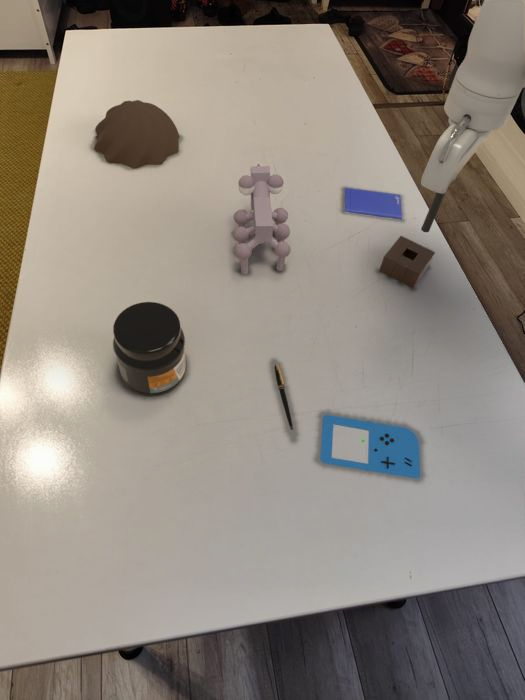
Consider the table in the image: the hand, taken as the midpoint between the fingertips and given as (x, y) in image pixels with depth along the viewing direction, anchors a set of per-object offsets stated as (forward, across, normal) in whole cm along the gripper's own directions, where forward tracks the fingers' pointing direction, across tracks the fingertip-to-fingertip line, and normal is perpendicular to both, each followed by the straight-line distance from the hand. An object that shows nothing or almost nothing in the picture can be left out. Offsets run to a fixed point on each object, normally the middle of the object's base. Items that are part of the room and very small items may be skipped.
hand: (444, 186), depth 83 cm
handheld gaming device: (+22, -36, -11) cm, 43 cm away
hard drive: (+22, +16, +15) cm, 31 cm away
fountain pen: (+22, -37, +4) cm, 43 cm away
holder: (+22, +2, +1) cm, 22 cm away
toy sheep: (+22, -9, +28) cm, 37 cm away
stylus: (+9, 0, 0) cm, 9 cm away
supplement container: (+22, -45, +24) cm, 56 cm away
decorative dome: (+22, 0, +68) cm, 72 cm away
